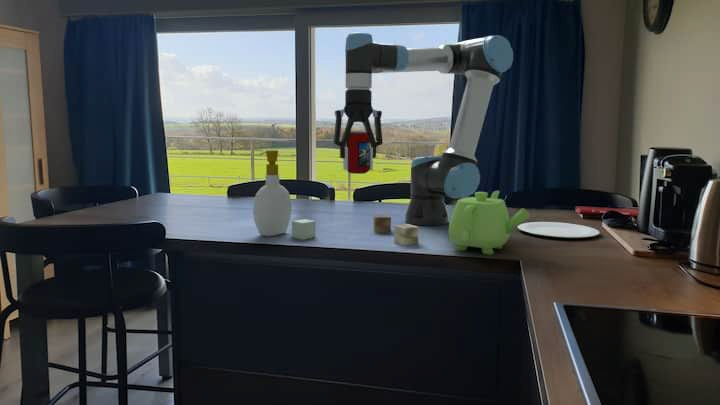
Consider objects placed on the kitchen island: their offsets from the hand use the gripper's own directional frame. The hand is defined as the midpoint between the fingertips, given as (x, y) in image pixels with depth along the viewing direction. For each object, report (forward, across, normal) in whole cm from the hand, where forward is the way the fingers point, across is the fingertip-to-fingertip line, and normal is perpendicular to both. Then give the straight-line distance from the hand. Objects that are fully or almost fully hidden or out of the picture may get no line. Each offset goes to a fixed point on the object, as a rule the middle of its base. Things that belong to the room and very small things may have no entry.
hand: (357, 169), depth 157 cm
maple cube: (+21, -13, +7) cm, 26 cm away
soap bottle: (+21, +24, -13) cm, 35 cm away
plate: (+22, -66, +3) cm, 69 cm away
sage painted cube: (+21, +15, -7) cm, 27 cm away
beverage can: (+1, 0, 0) cm, 1 cm away
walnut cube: (+21, -11, -11) cm, 26 cm away
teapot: (+21, -34, +19) cm, 44 cm away
